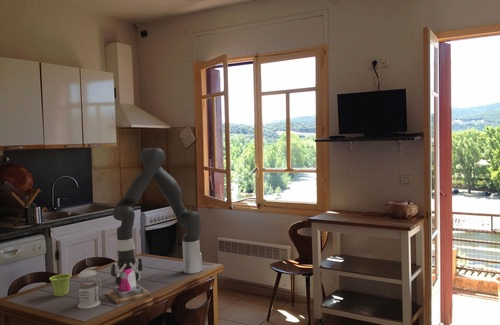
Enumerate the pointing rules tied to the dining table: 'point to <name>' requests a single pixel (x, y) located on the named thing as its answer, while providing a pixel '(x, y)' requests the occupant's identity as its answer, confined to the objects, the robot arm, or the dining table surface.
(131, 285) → the supplement box
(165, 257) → the dining table surface
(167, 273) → the dining table surface
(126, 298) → the wooden board with frame
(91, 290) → the french press
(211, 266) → the dining table surface
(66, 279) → the plant pot
